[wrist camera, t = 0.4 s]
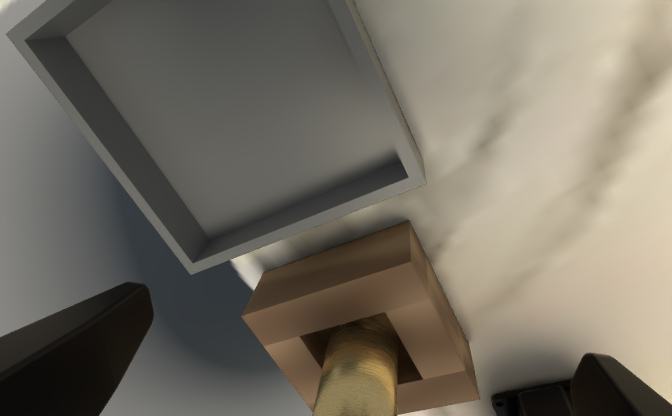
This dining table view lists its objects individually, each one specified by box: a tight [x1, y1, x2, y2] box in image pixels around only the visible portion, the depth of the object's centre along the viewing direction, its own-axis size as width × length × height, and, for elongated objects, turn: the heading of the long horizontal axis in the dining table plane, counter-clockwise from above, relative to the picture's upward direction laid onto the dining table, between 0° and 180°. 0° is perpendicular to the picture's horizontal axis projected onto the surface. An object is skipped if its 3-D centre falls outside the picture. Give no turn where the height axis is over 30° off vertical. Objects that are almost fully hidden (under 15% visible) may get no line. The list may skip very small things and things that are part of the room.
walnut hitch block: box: [241, 221, 480, 415], centre depth 24 cm, size 10×10×4 cm
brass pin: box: [312, 312, 398, 416], centre depth 20 cm, size 6×6×12 cm
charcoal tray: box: [6, 0, 427, 275], centre depth 19 cm, size 14×14×3 cm
